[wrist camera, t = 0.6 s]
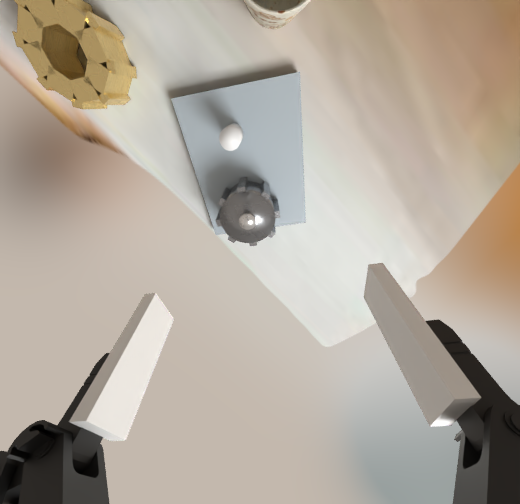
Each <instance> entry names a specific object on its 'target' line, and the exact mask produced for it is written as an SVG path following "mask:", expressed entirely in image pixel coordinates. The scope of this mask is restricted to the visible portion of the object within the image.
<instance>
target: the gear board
mask: <svg viewBox="0 0 520 504" xmlns="http://www.w3.org/2000/svg"><path fill="white" fill-rule="evenodd" d="M171 100H172V103H173V106H174V109H175V112H176V115H177V118H178V121H179V124H180V127H181V130H182V133H183V137H184V140H185V143H186V146H187V149H188V152H189V155H190V158H191V161H192V164H193V167H194V170H195V173H196V176H197V179H198V182H199V185H200V188H201V191H202V194H203V197H204V200H205V204H206V207H207V210H208V213H209V216H210V219H211V222H212V225H213V228H214V231H215V234H216V235H219V234H226V232H225V231H224V229H223V227H222V226H220V227H217V224H216V218H217V215H218V213H219V210H220V207H222V206H220V205H218V202H219V199H220V197H221V195H222V193H223V191H224V189H225V188H226V187H227V188H229V189H231V188H232V187H233V186H235V185H236V184H238V182H239V179H240V178H242V177H247V179H248V181H252V182H257V183H259V184H262V182H263V181H265V182H266V183H267V184H269V185H270V193H271V195H272V198H273V199H278V204H279V210H280V218H276V219H275V227H277V226H284V225H291V224H298V223H306V217H305V191H304V165H303V140H302V114H301V89H300V72H296V73H291V74H287V75H282V76H277V77H272V78H267V79H263V80H258V81H253V82H248V83H244V84H239V85H234V86H229V87H224V88H220V89H215V90H210V91H205V92H200V93H196V94H191V95H186V96H181V97H176V98H172V99H171Z"/></svg>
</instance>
